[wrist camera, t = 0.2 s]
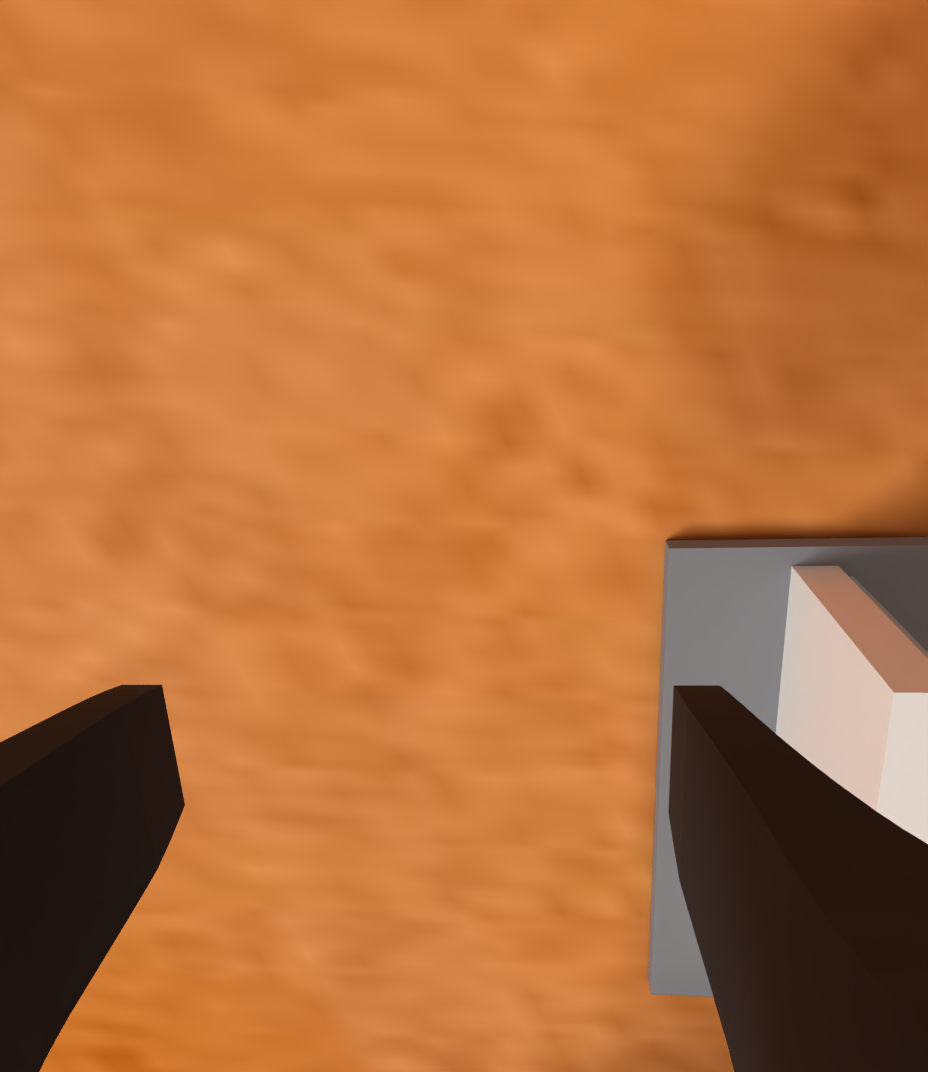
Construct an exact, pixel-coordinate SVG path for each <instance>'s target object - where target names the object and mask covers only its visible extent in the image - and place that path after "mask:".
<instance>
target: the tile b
mask: <svg viewBox="0 0 928 1072" xmlns="http://www.w3.org/2000/svg"><path fill="white" fill-rule="evenodd" d="M776 734H777V735H778V736H779V737H780V738H782V739H783V740H784V741H785V742H786V743H788V744H789V745H790V746H791V747H792V748H794V749H795V750H796V751H797V752H798V753H800V754H801V755H802V756H803V757H805V758H806V759H807V760H808V761H810V762H811V763H812V764H813V765H815V766H816V767H817V768H818V769H820V770H821V771H822V772H824V773H825V774H826V775H827V776H829V777H830V778H831V779H833V780H834V781H835V782H837V783H838V784H839V785H841V786H842V787H843V788H845V789H846V790H848V791H849V792H850V793H852V794H853V795H855V796H856V797H857V798H859V799H860V800H861V801H863V802H864V803H866V804H867V805H868V806H870V807H871V808H873V809H874V810H875V811H877V812H878V813H880V814H881V815H883V816H884V817H886V818H887V819H889V820H890V821H892V822H893V823H895V824H896V825H898V826H899V827H901V828H902V829H904V830H906V831H907V832H909V833H910V834H912V835H914V836H915V837H917V838H919V839H920V840H922V841H924V842H925V843H927V844H928V652H927V651H926V650H925V649H924V648H923V647H922V646H921V645H920V644H919V643H918V642H917V641H916V640H915V639H914V638H913V637H912V636H911V635H910V634H909V633H908V632H907V631H906V630H905V629H904V628H903V627H902V626H901V625H900V624H899V623H898V622H897V621H896V620H895V619H894V617H893V616H892V615H891V614H890V613H889V612H888V611H887V610H886V609H885V608H884V607H883V606H882V605H881V604H880V603H879V602H878V601H877V600H876V599H875V598H874V597H873V596H872V595H871V594H870V593H869V592H868V591H867V590H866V589H865V588H864V587H863V586H862V585H861V584H860V583H859V582H858V581H857V580H856V579H855V578H854V576H848V575H847V574H846V573H845V572H844V571H843V570H842V569H841V568H840V567H839V566H792V567H791V577H790V588H789V598H788V609H787V619H786V630H785V640H784V651H783V661H782V672H781V682H780V693H779V703H778V714H777V724H776Z"/></svg>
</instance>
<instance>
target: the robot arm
mask: <svg viewBox="0 0 928 1072" xmlns="http://www.w3.org/2000/svg"><path fill="white" fill-rule="evenodd" d="M184 806H185V803H184V798H183V793H182V788H181V782H180V777H179V772H178V767H177V761H176V756H175V751H174V746H173V740H172V735H171V730H170V725H169V719H168V714H167V709H166V704H165V698H164V693H163V688H162V685H120V686H118V687H115V688H112V689H109V690H107V691H104V692H102V693H100V694H97V695H95V696H93V697H91V698H88V699H86V700H84V701H82V702H80V703H78V704H76V705H74V706H72V707H70V708H68V709H66V710H64V711H62V712H60V713H58V714H56V715H54V716H52V717H50V718H48V719H46V720H44V721H42V722H40V723H38V724H36V725H34V726H32V727H30V728H28V729H26V730H24V731H22V732H20V733H18V734H16V735H14V736H12V737H10V738H8V739H6V740H4V741H2V742H0V1072H39V1071H40V1069H41V1067H42V1065H43V1063H44V1061H45V1059H46V1057H47V1055H48V1053H49V1051H50V1049H51V1047H52V1045H53V1044H54V1042H55V1040H56V1038H57V1036H58V1035H59V1033H60V1031H61V1029H62V1027H63V1026H64V1024H65V1022H66V1020H67V1019H68V1017H69V1015H70V1013H71V1012H72V1010H73V1009H74V1007H75V1005H76V1004H77V1002H78V1000H79V999H80V997H81V995H82V994H83V992H84V990H85V989H86V987H87V986H88V984H89V982H90V981H91V979H92V977H93V976H94V974H95V972H96V971H97V969H98V967H99V966H100V964H101V963H102V961H103V959H104V958H105V956H106V954H107V953H108V951H109V949H110V948H111V946H112V944H113V943H114V941H115V940H116V938H117V936H118V935H119V933H120V931H121V930H122V928H123V926H124V925H125V923H126V922H127V920H128V918H129V917H130V915H131V913H132V911H133V910H134V908H135V906H136V905H137V903H138V901H139V900H140V898H141V896H142V895H143V893H144V891H145V890H146V888H147V886H148V885H149V883H150V881H151V879H152V878H153V876H154V874H155V872H156V871H157V869H158V867H159V865H160V862H161V860H162V858H163V856H164V854H165V851H166V849H167V847H168V845H169V842H170V840H171V838H172V835H173V833H174V830H175V828H176V826H177V823H178V821H179V818H180V816H181V813H182V811H183V808H184ZM668 813H669V820H670V826H671V832H672V839H673V845H674V851H675V857H676V863H677V869H678V875H679V880H680V884H681V888H682V891H683V895H684V898H685V902H686V905H687V909H688V912H689V915H690V919H691V922H692V926H693V929H694V933H695V936H696V939H697V943H698V946H699V950H700V953H701V956H702V960H703V963H704V966H705V970H706V973H707V977H708V980H709V983H710V987H711V990H712V993H713V997H714V1000H715V1004H716V1007H717V1010H718V1014H719V1017H720V1020H721V1024H722V1027H723V1030H724V1034H725V1037H726V1041H727V1044H728V1048H729V1052H730V1056H731V1060H732V1064H733V1067H734V1071H735V1072H928V844H927V843H925V842H924V841H922V840H920V839H919V838H917V837H915V836H914V835H912V834H910V833H909V832H907V831H906V830H904V829H902V828H901V827H899V826H898V825H896V824H895V823H893V822H892V821H890V820H889V819H887V818H886V817H884V816H883V815H881V814H880V813H878V812H877V811H875V810H874V809H873V808H871V807H870V806H868V805H867V804H866V803H864V802H863V801H861V800H860V799H859V798H857V797H856V796H855V795H853V794H852V793H850V792H849V791H848V790H846V789H845V788H843V787H842V786H841V785H839V784H838V783H837V782H835V781H834V780H833V779H831V778H830V777H829V776H827V775H826V774H825V773H824V772H822V771H821V770H820V769H818V768H817V767H816V766H815V765H813V764H812V763H811V762H810V761H808V760H807V759H806V758H805V757H803V756H802V755H801V754H800V753H798V752H797V751H796V750H795V749H794V748H792V747H791V746H790V745H789V744H788V743H786V742H785V741H784V740H783V739H782V738H780V737H779V736H778V735H777V734H776V733H775V732H773V731H772V730H771V729H770V728H769V727H768V726H767V725H765V724H764V723H763V722H762V721H761V720H760V719H758V718H757V717H756V716H755V715H754V714H753V713H752V712H750V711H749V710H748V709H747V708H746V707H745V706H744V705H743V704H741V703H740V702H739V701H738V700H737V699H736V698H735V697H733V696H732V695H731V694H730V693H729V692H728V691H726V690H725V689H724V688H723V687H721V686H720V685H674V688H673V712H672V737H671V761H670V786H669V810H668Z"/></svg>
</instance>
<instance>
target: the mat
mask: <svg viewBox="0 0 928 1072" xmlns="http://www.w3.org/2000/svg"><path fill="white" fill-rule="evenodd" d="M792 566H839V567H840V568H841V569H842V570H843V571H844V572H845V573H846V574H847V575H848V576H854V578H855V579H856V580H857V581H858V582H859V583H860V584H861V585H862V586H863V587H864V588H865V589H866V590H867V591H868V592H869V593H870V594H871V595H872V596H873V597H874V598H875V599H876V600H877V601H878V602H879V603H880V604H881V605H882V606H883V607H884V608H885V609H886V610H887V611H888V612H889V613H890V614H891V615H892V616H893V617H894V619H895V620H896V621H897V622H898V623H899V624H900V625H901V626H902V627H903V628H904V629H905V630H906V631H907V632H908V633H909V634H910V635H911V636H912V637H913V638H914V639H915V640H916V641H917V642H918V643H919V644H920V645H921V646H922V647H923V648H924V649H925V650H926V651H927V652H928V537H872V538H799V539H726V540H666V541H665V567H664V592H663V618H662V643H661V669H660V694H659V719H658V745H657V770H656V796H655V821H654V847H653V872H652V898H651V923H650V949H649V974H648V979H649V985H650V992H651V994H654V995H680V996H705V997H713V993H712V990H711V987H710V983H709V980H708V977H707V973H706V970H705V966H704V963H703V960H702V956H701V953H700V950H699V946H698V943H697V939H696V936H695V933H694V929H693V926H692V922H691V919H690V915H689V912H688V909H687V905H686V902H685V898H684V895H683V891H682V888H681V884H680V880H679V875H678V869H677V863H676V857H675V851H674V845H673V839H672V832H671V826H670V820H669V813H668V810H669V786H670V761H671V737H672V712H673V688H674V685H720V686H721V687H723V688H724V689H725V690H726V691H728V692H729V693H730V694H731V695H732V696H733V697H735V698H736V699H737V700H738V701H739V702H740V703H741V704H743V705H744V706H745V707H746V708H747V709H748V710H749V711H750V712H752V713H753V714H754V715H755V716H756V717H757V718H758V719H760V720H761V721H762V722H763V723H764V724H765V725H767V726H768V727H769V728H770V729H771V730H772V731H773V732H775V733H776V724H777V714H778V703H779V693H780V682H781V672H782V661H783V651H784V640H785V630H786V619H787V609H788V598H789V588H790V577H791V567H792Z"/></svg>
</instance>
